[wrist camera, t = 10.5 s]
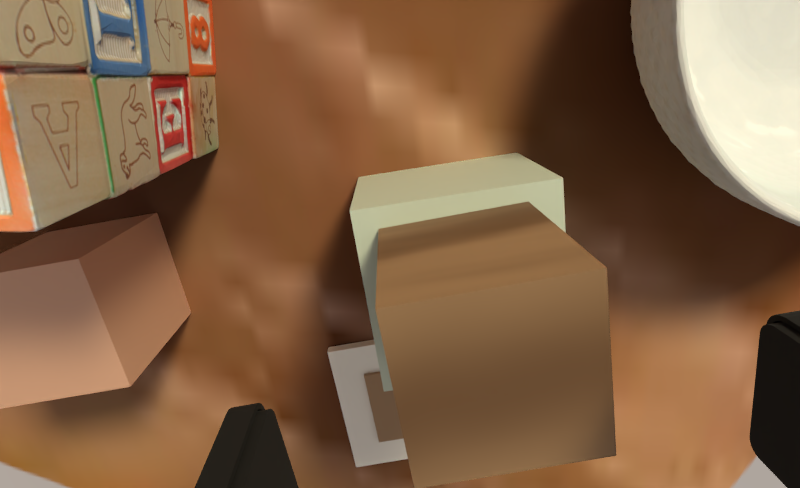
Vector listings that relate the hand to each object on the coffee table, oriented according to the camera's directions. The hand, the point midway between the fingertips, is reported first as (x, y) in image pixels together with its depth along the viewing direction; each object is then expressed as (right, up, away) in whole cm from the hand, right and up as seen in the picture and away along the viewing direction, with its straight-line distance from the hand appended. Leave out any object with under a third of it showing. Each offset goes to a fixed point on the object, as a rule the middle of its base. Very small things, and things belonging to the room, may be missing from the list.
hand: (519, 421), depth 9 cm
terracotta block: (-15, +2, +13) cm, 20 cm away
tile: (-2, -4, +16) cm, 16 cm away
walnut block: (0, +2, +8) cm, 8 cm away
